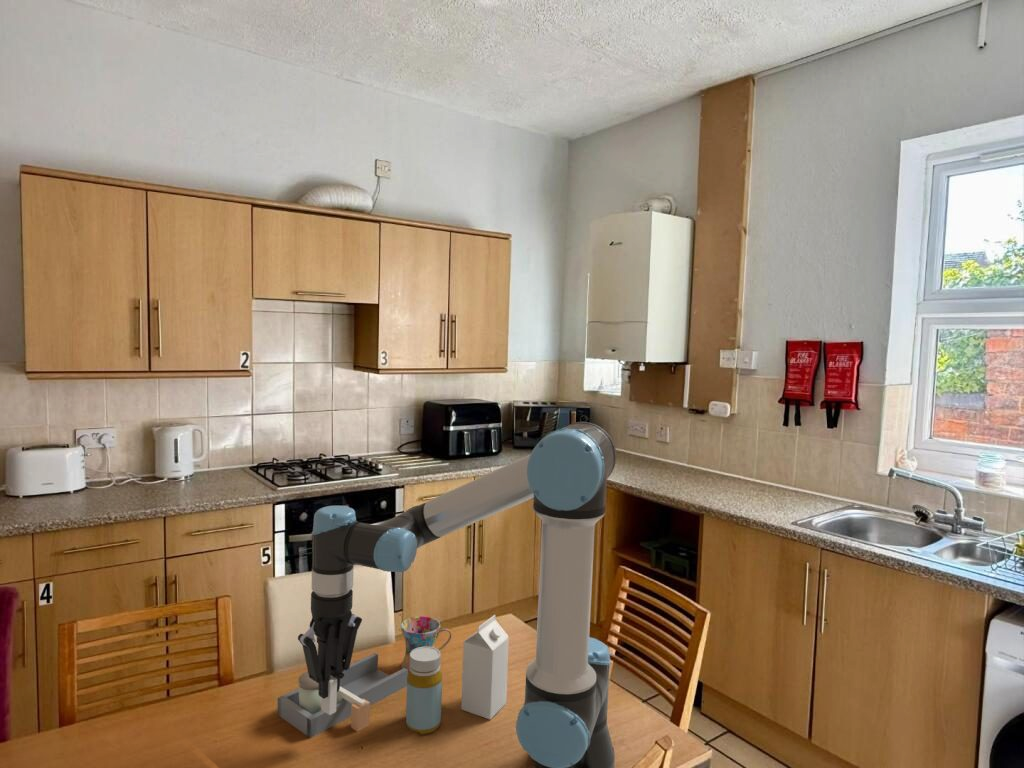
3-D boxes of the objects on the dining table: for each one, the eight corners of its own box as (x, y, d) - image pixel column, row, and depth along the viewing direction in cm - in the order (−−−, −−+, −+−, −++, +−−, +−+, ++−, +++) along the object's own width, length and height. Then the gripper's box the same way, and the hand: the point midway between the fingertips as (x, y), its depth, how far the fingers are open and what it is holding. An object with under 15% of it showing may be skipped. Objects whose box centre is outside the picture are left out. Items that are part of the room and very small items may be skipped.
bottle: (434, 738, 125) (436, 664, 124) (400, 732, 127) (402, 659, 126) (445, 718, 132) (447, 647, 131) (413, 712, 134) (414, 643, 133)
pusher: (369, 725, 128) (370, 699, 127) (357, 732, 125) (357, 705, 125) (324, 697, 137) (324, 673, 137) (312, 703, 135) (312, 678, 134)
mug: (399, 679, 146) (400, 634, 146) (399, 659, 155) (400, 616, 155) (452, 676, 148) (453, 632, 148) (449, 656, 158) (450, 614, 157)
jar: (336, 714, 131) (336, 677, 130) (309, 728, 126) (310, 689, 125) (318, 703, 134) (318, 666, 134) (291, 716, 130) (292, 678, 129)
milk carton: (461, 710, 135) (463, 623, 134) (478, 694, 141) (481, 610, 140) (490, 720, 132) (493, 631, 130) (506, 703, 138) (509, 618, 137)
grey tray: (407, 688, 143) (408, 669, 142) (310, 741, 123) (310, 720, 123) (374, 670, 150) (374, 652, 149) (277, 718, 130) (277, 697, 130)
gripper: (348, 575, 127) (344, 689, 129) (289, 594, 117) (286, 717, 118) (372, 585, 122) (368, 703, 124) (314, 606, 112) (310, 734, 114)
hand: (328, 710), depth 121 cm, fingers closed
